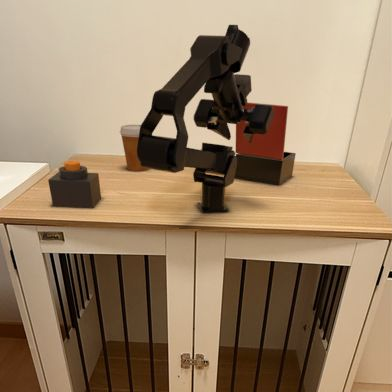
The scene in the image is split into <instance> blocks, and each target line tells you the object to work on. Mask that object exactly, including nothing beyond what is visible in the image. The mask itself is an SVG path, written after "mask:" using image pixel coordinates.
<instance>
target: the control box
mask: <svg viewBox="0 0 392 392" xmlns="http://www.w3.org/2000/svg"><path fill="white" fill-rule="evenodd" d="M80 168H81V170H76V171H67V170H65V165H63V166H60V167H59V168H58V172H56V173H55V174H54V175H52V176H51V177H50V178H49V179H48V180H47V181H48V186H49V193H50V198H51V202H52V203H51V204H52V207H62V208H63V207H64V208H65V207H66V208H81V209H82V208H83V209H94V208H95V206H97V204H98V203H99V202H100V200H101V199H102V195H101V186H100V185H101V184H100V177H99V172H88V168H87V166H85V165H80Z"/></svg>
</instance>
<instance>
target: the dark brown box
mask: <svg viewBox="0 0 392 392" xmlns="http://www.w3.org/2000/svg"><path fill="white" fill-rule="evenodd" d="M235 156H236V157H237V167H236V172H235V177H234V179H237V180H242V181H243V180H244V181H249V182H256V183H262V184H268V185H274V186H280V185H282V184H284V182H286V181H288V180H289V179H291V177H293V172H294V166H295V161H296V152H289V151H284V156H283V159H275V158H268V157H260V156H253V155H246V154H239V153H235Z"/></svg>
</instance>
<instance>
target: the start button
mask: <svg viewBox="0 0 392 392" xmlns="http://www.w3.org/2000/svg"><path fill="white" fill-rule="evenodd" d="M63 164H64V165H63V166H65V170H67V171H76V170H81V168H80V166H81V162H80V161H78V160H66V161H64V163H63Z"/></svg>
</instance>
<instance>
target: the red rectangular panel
mask: <svg viewBox="0 0 392 392" xmlns="http://www.w3.org/2000/svg"><path fill="white" fill-rule="evenodd" d="M256 104H260V103H258V102H248V101H247V104H246V106H244V107H243V109H250V108H251V107H255V105H256ZM265 104H266V105H272V107H273V110H274V115H273V118H272V120H271V123H270V126H269V128H268V131H267V133H265V134H264V135H263V134H255V135H253V138H252V142H251V143H249V142H248V140H247V139H246V137H245V135H244V134H243V132H244V130H245V127H246V122H245V121H243V120H241V122H240V123H237V124H235V154H238V153H239V154H246V155H253V156H260V157H268V158H275V159H283V156H284V152H285V145H286V144H285V143H286V134H287V133H286V132H287V123H288V113H289V105H280V104H269V103H265Z"/></svg>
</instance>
